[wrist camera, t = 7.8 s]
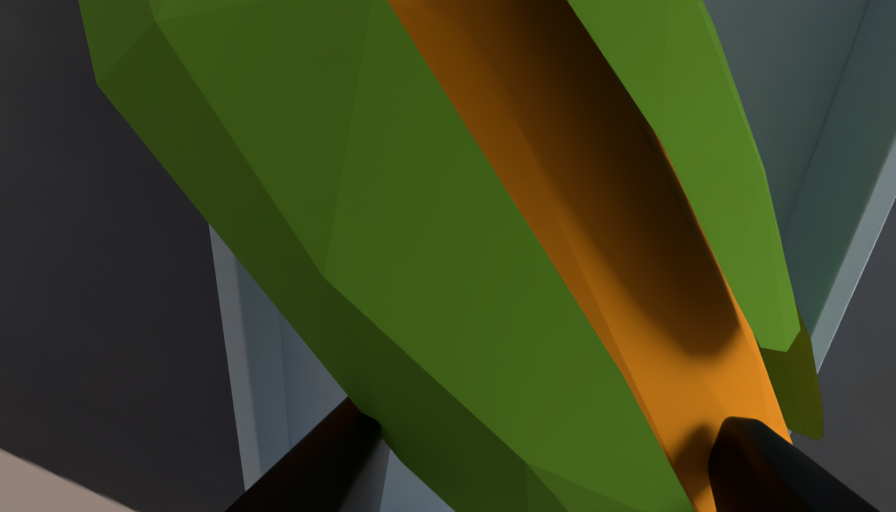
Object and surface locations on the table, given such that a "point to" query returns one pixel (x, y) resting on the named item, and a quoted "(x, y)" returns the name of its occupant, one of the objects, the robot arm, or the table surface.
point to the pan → (788, 175)
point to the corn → (490, 226)
